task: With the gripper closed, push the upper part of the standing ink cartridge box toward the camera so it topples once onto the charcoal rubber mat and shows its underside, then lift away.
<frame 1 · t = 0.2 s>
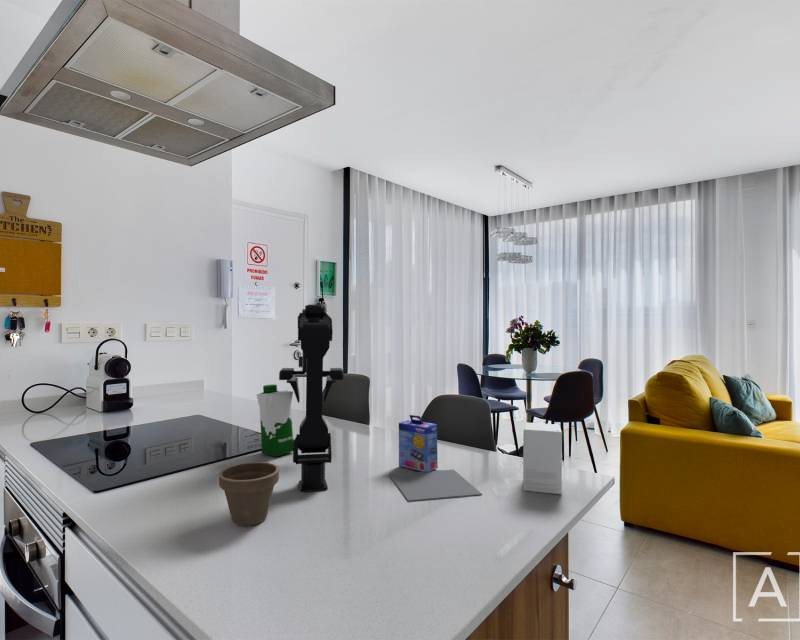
hand: (311, 402, 140), 15 cm above the worktop, fingers open, 7 cm apart
charcoal mat: (433, 484, 115), on the worktop
milk carton: (278, 452, 140), on the worktop, touching gripper
ink cartridge box: (417, 468, 128), on the worktop, touching charcoal mat
supplement box: (541, 487, 115), on the worktop
flower pot: (248, 521, 94), on the worktop
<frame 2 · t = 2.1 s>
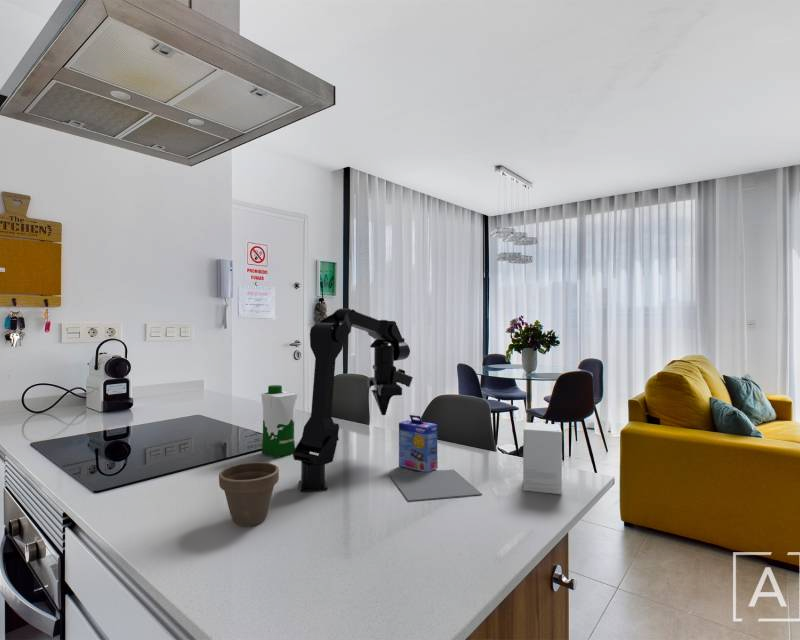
hand: (383, 414, 138), 12 cm above the worktop, fingers closed
milk carton: (278, 453, 140), on the worktop
everything else where it was.
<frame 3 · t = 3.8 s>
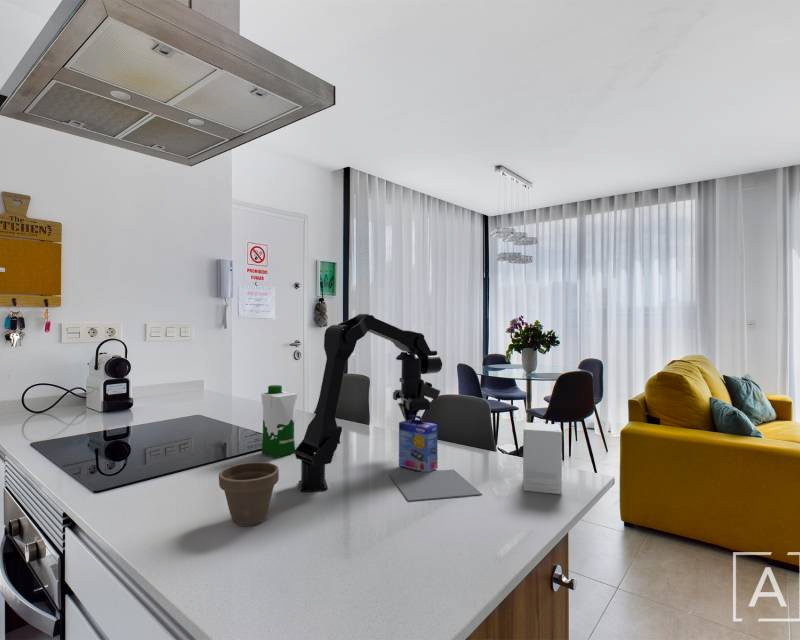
hand: (410, 429, 135), 9 cm above the worktop, fingers closed
ink cartridge box: (417, 468, 128), on the worktop, touching charcoal mat, gripper
everything else where it was.
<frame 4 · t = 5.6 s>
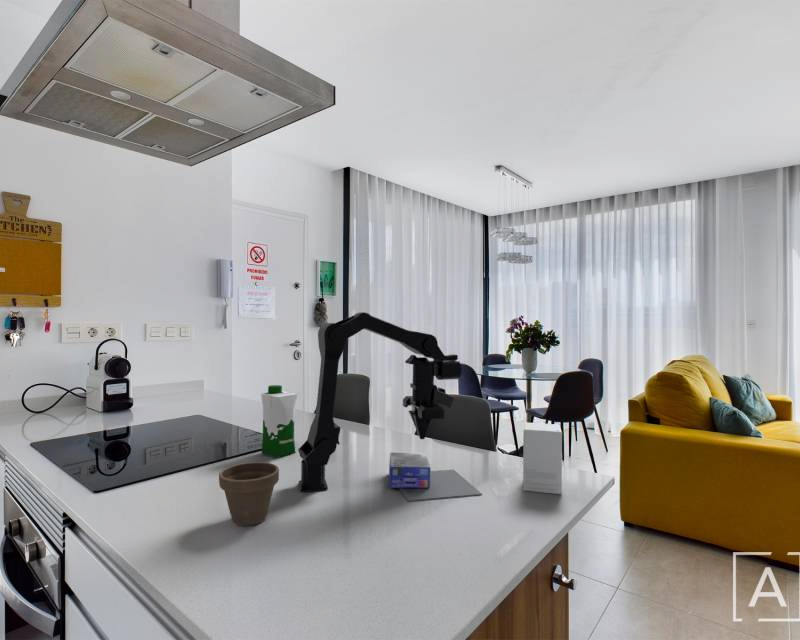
hand: (422, 438, 124), 9 cm above the worktop, fingers closed
ink cartridge box: (407, 462, 124), point 3 cm above the worktop, touching charcoal mat
everything else where it was.
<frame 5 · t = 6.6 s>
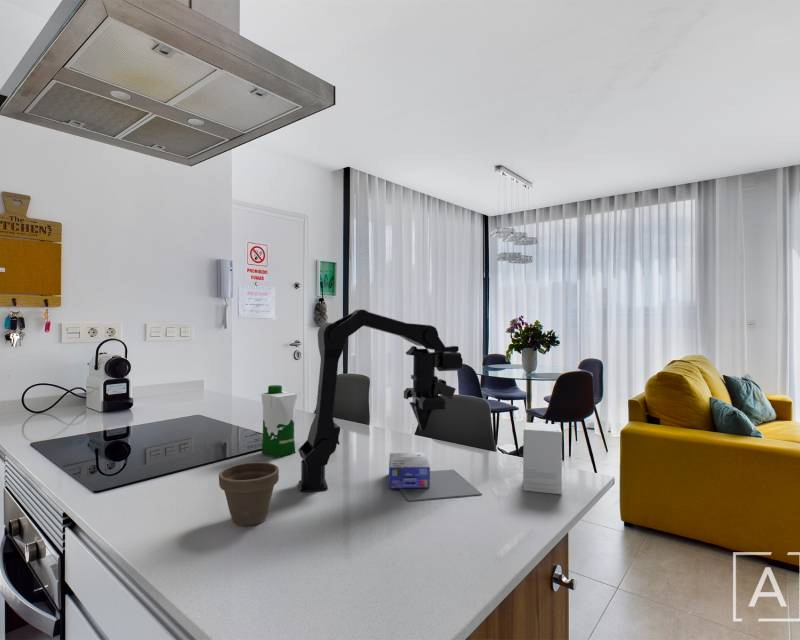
hand: (423, 430, 124), 11 cm above the worktop, fingers closed
nothing on the worktop moved.
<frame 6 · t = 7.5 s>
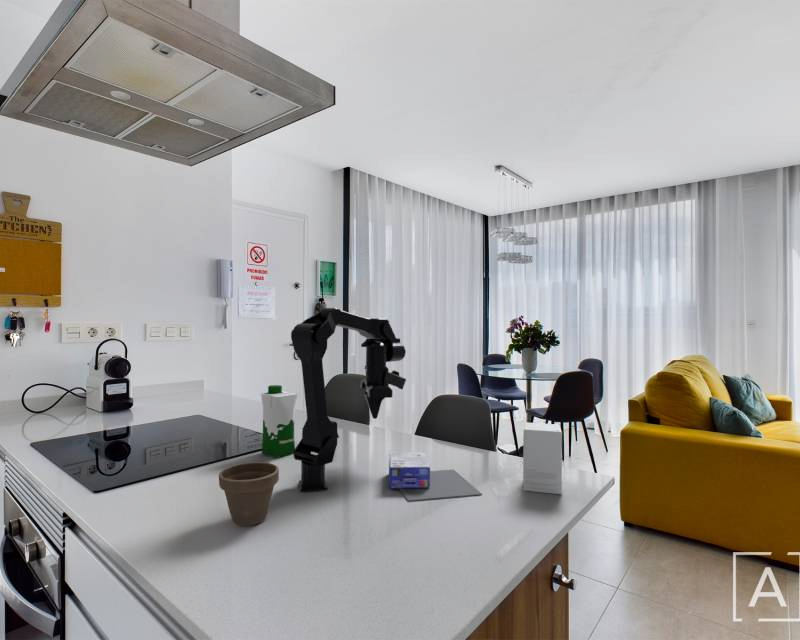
hand: (374, 418, 131), 13 cm above the worktop, fingers closed
nothing on the worktop moved.
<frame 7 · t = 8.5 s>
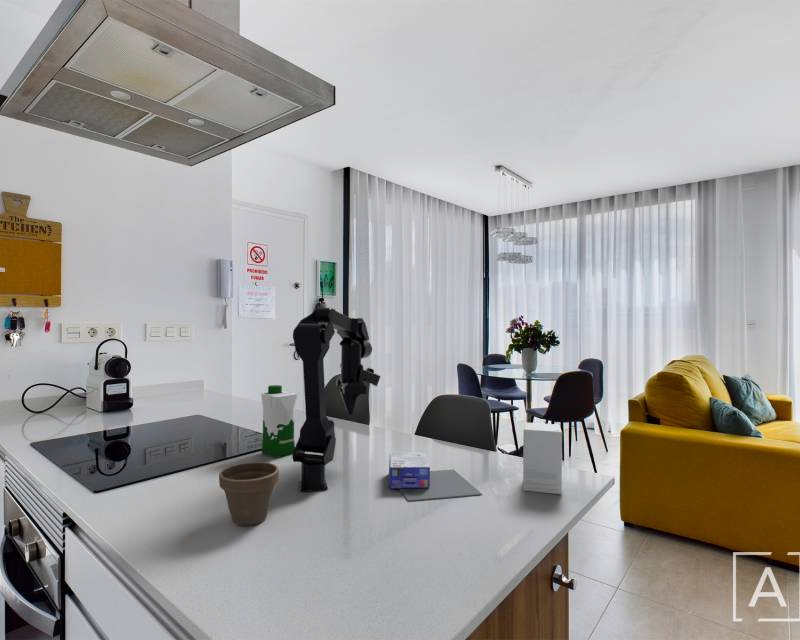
hand: (350, 414, 135), 13 cm above the worktop, fingers closed
nothing on the worktop moved.
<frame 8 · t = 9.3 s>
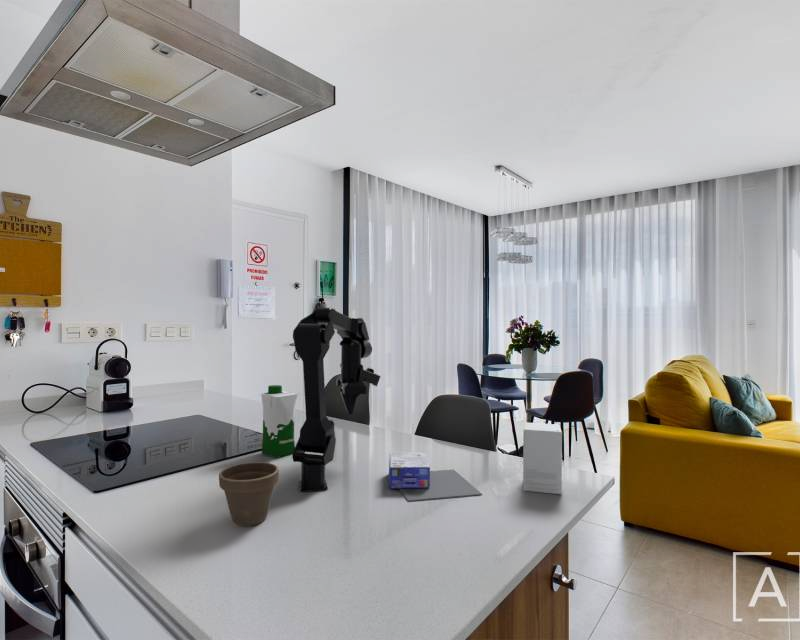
hand: (350, 414, 135), 13 cm above the worktop, fingers closed
nothing on the worktop moved.
at the end: ink cartridge box tilted 89°; ink cartridge box touching charcoal mat; ink cartridge box inside the target area (4.1 cm from its centre), point 2.9 cm above the worktop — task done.
